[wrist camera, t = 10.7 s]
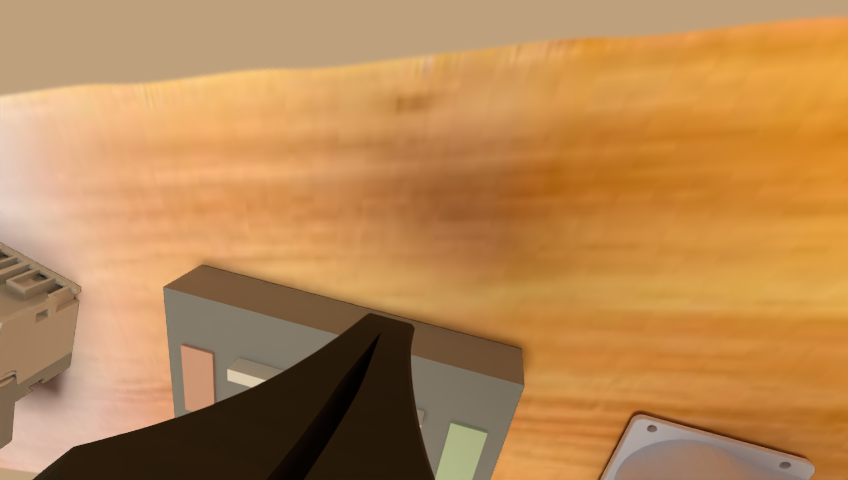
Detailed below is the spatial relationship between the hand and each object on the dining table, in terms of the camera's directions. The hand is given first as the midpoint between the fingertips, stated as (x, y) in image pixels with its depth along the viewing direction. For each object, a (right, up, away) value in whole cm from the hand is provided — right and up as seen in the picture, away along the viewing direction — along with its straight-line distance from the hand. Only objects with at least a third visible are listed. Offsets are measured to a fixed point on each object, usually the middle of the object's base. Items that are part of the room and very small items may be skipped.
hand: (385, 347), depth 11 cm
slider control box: (-4, -6, +15) cm, 16 cm away
